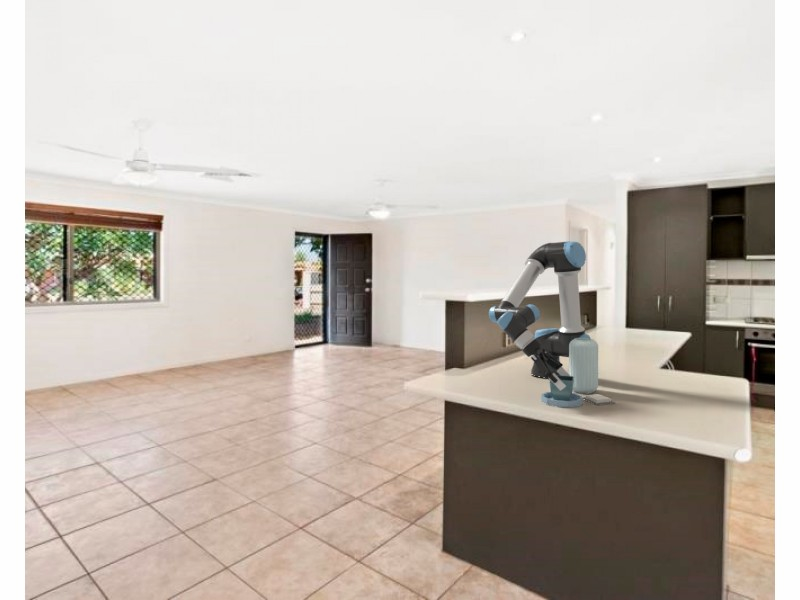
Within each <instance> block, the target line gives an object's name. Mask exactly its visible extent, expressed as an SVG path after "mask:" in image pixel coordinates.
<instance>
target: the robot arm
mask: <svg viewBox="0 0 800 600" xmlns="http://www.w3.org/2000/svg"><path fill="white" fill-rule="evenodd" d="M586 260H587V255H586V251H585V248H584V246H583V245H582V244H581V243H580V242H579V241H570V240H569V241H559V242H547V243H544V244H543V245H540V246H538V247H537V248H536V249H535V250H534V251H533V252H532V253H531V254H530V255H529V256H528V257H527V258H526V260H525V263H524V267H523V268H522V270H521V272H520V273H519V274H518V276H517V277H516V279H515V281H514V282H513V284H512V285H511V286H510V288H509V289H508V291H507V292H506V294H505V296H504V297H503V298H502V299H501V302H500V303H499V304H498V305H494V306H492V307H490V308H489V311H488V318H489V320H490V321H491V322H492V323H496V324H497V325H498V326H499V327H500V329H501V331H503V332H504V333H505V335H507V336H508V337H509V339H511V340H512V342H513V343H514V344H515V346H516V347H518V348H519V349H520V350H522V352H523V353H524V354H525V355H526V357H527V358H529V357H530V359H531V360H532V362H533V363H532V367H531V370H530V375H531V374H533V375H535V376H540V377H545V378H544V379H546V380H547V379H550V380H551V381H552V382H553V383H554V384H555V386H556V387H557V388H558V389H559V390H560V391H561V390H562V389H563V388H565V387H566V385H565V384H564V383H563V382H562V381H561V380H560V379H559V378H558V377H557V376H556V375H560V376H570V375H569V372H568V371H567V370H566V369H565V368H564V367H563V366H564V365H563V363H562V362H561V360H560V359H561V358H560V357H563V358H569V344H570V342H571V341H572V340H574V339H575V338H589V339H592V338H591V336H590V335H589V334H587V333H586V329H585V327H583V326H582V322H581V321H582V320H581V306H580V305H581V304H580V303H581V302H580V291H579V290H580V289H579V273H580V272H581V271H582V267H584V266H585V264H586ZM551 268H553V270H554V274H555V275H556V276H557V281H558V295H559V308H560V309H559V310H560V311H559V313H560V323H561V325H560V328H558V327H557V328H556V327H555V328H552V327H551V328H542V329H537V330H535V332H534V334H533V333H532V332H531V331H530V330H529V329H528V327H529V326H531V325H533V324H534V323H535V322H536V321H537V320H538V319H540V315H541V313H540V309H539V308H538V307H537V306H536V305H534V304H529V303H528V304H527V305H524V307H520V305H521V303H522V302H523V300H524V299H525V297H526V295H527V294H528V293H529V291H530V290H531V288H532V286H533V285H534V284H535V282H536V280H537V279H538V277H539V276H540V275H542V274H543V273H544V272H545V270H547V269H551ZM550 380H549V381H550Z"/></svg>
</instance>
